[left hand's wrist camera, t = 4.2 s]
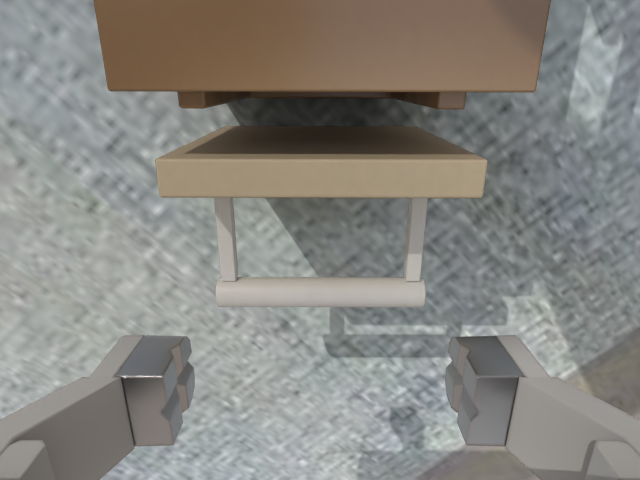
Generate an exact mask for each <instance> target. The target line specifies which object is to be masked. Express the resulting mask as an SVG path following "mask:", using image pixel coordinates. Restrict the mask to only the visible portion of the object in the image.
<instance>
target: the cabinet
mask: <svg viewBox="0 0 640 480" xmlns="http://www.w3.org/2000/svg"><path fill="white" fill-rule="evenodd" d="M550 2H551V0H94V5H95V11H96V18H97V24H98V30H99V36H100V42H101V49H102V55H103V61H104V67H105V73H106V80H107V86H108V90H109V91H209V92H534V91H535V90H536V85H537V79H538V73H539V67H540V61H541V55H542V49H543V43H544V37H545V31H546V25H547V19H548V14H549V8H550Z"/></svg>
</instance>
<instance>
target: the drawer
mask: <svg viewBox="0 0 640 480" xmlns="http://www.w3.org/2000/svg"><path fill="white" fill-rule="evenodd" d="M465 97H466V92H209V91H178V100H179V106H180V107H181V108H207V107H212V106H216V105H220V104H225V103H229V102H233V101H238V100H242V99H246V98H393V99H398V100H402V101H406V102H411V103H415V104H419V105H423V106H428V107H432V108H436V109H464V106H465ZM155 163H156V171H157V178H158V186H159V193H160V196H161V197H206V198H214V201H215V213H216V225H217V236H218V248H219V259H220V271H221V277H219V278H218V281H217V285H216V302H217V305H218V306H219V307H423V306H424V304H425V298H426V289H425V283H424V280H423V278H421V277H420V276H421V266H422V255H423V244H424V234H425V223H426V212H427V201H428V198H482V196H483V191H484V184H485V177H486V170H487V163H488V162H487V160H486V159H484V158H482V157H479V156H477V155H475V154H473V153H471V152H469V151H467V150H465V149H462V148H460V147H458V146H456V145H454V144H452V143H450V142H448V141H445V140H443V139H441V138H439V137H437V136H435V135H433V134H431V133H428V132H426V131H424V130H422V129H420V128H418V127H351V126H225V127H223V128H221V129H219V130H217V131H214V132H212V133H210V134H208V135H206V136H204V137H202V138H200V139H198V140H195V141H193V142H191V143H189V144H187V145H185V146H183V147H181V148H178V149H176V150H174V151H172V152H170V153H168V154H166V155H164V156H162V157H159V158H157V159H156V161H155ZM233 198H409V209H408V221H407V234H406V247H405V260H404V273H403V275H404V277H238V264H237V250H236V236H235V222H234V208H233Z"/></svg>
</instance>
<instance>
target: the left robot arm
mask: <svg viewBox="0 0 640 480" xmlns="http://www.w3.org/2000/svg"><path fill="white" fill-rule="evenodd" d="M191 352H192V351H191V344H190V340H189V338H188V337H187V336H144V335H126V336H123V337H121V338H120V339H119V340H118V342H117V343H116V344H115V345H114V347H113V348H112V349H111V350H110V352H109V353H108V354H107V356H106V357H105V358H104V359H103V361H102V362H101V363H100V364H99V366H98V367H97V368H96V369H95V371H94V372H93V373H92V375H91V376H90V377H82V378H80V379H78V380H76V381H74V382H72V383H70V384H69V385H67V386H65V387H63V388H61V389H59V390H57V391H55V392H53V393H51V394H49V395H47V396H45V397H43V398H41V399H39V400H38V401H36V402H34V403H32V404H30V405H28V406H26V407H24V408H22V409H20V410H18V411H16V412H14V413H12V414H10V415H8V416H7V417H5V418H3V419H1V420H0V480H100V479H101V478H102V477H103V476H104V475H105V474H106V473H108V472H109V471H110V470H111V469H112V468H113V467H114V466H115V465H116V464H118V463H119V462H120V461H121V460H122V459H123V458H124V457H125V456H127V455H128V454H129V453H130V452H131V451H132V450H133V449H134V446H164V445H174V443H175V440H176V438H177V436H178V433H179V431H180V428H181V426H182V423H183V419H182V413H183V412H184V411H185V410H187V409H188V408H189V406H190V403H191V401H192V397H193V392H194V383H195V376H194V367H193V366H192V365H191V364H190V363H189V362H188V359H189V357H190V354H191ZM448 352H449V355H450V357H451V359H452V362H451V363H450V364H449V365H448V366H447V367H446V377H445V383H446V393H447V397H448V401H449V403H450V406H451V408H452V409H453V410H455V411H456V412H457V413H458V418H457V424H458V426H459V428H460V431H461V433H462V436H463V438H464V440H465V443H466V445H475V446H506V447H505V448H506V449H507V450H508V451H509V452H510V453H511V454H512V455H514V456H515V457H516V458H517V459H518V460H519V461H520V462H521V463H523V464H524V465H525V466H526V467H527V468H528V469H529V470H530V471H531V472H533V473H534V474H535V475H536V476H537V477H538V478H539V479H540V480H640V420H639V419H637V418H635V417H633V416H631V415H629V414H627V413H625V412H624V411H622V410H620V409H618V408H616V407H614V406H612V405H610V404H608V403H606V402H604V401H602V400H600V399H598V398H596V397H595V396H593V395H591V394H589V393H587V392H585V391H583V390H581V389H579V388H577V387H575V386H573V385H571V384H569V383H567V382H566V381H564V380H562V379H560V378H558V377H550V376H549V375H548V373H547V372H546V371H545V370H544V368H543V367H542V366H541V365H540V363H539V362H538V361H537V360H536V358H535V357H534V356H533V354H532V353H531V352H530V351H529V349H528V348H527V347H526V346H525V344H524V343H523V342H522V341H521V339H520V338H519V337H517V336H515V335H502V336H473V337H451V340H450V343H449V350H448Z"/></svg>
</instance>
